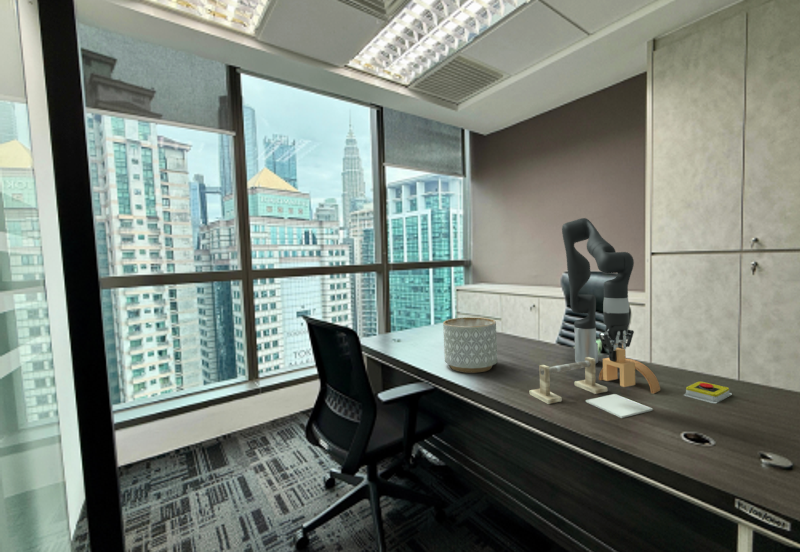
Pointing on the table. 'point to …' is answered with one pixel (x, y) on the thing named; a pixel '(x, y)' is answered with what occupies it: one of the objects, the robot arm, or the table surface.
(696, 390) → the emergency button
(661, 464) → the table surface
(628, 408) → the mat
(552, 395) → the rail stand
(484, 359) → the planter
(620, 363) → the wooden bridge block
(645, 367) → the arch
